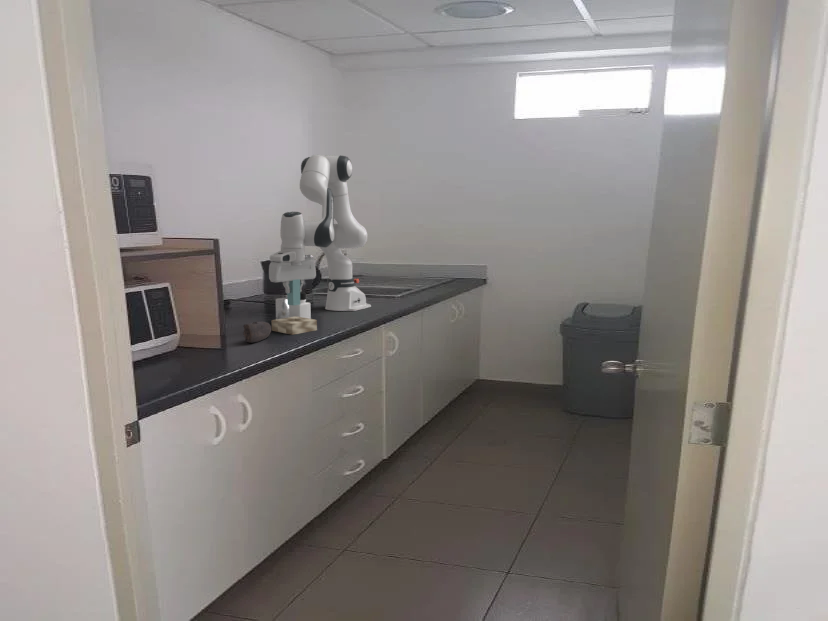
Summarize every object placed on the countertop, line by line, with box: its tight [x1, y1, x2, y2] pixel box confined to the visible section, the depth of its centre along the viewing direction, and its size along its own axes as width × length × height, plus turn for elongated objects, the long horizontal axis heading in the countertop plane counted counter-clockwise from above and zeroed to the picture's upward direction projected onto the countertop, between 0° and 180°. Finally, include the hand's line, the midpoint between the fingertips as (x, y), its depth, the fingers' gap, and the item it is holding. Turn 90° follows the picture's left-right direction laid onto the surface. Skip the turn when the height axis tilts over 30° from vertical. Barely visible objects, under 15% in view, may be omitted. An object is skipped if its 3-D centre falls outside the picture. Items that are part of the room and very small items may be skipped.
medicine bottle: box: [290, 290, 312, 319], centre depth 262 cm, size 7×7×12 cm
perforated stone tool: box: [242, 321, 272, 344], centre depth 221 cm, size 15×5×7 cm, turn 158°
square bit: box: [286, 279, 300, 305], centre depth 238 cm, size 3×3×10 cm
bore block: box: [271, 316, 318, 336], centre depth 240 cm, size 12×12×4 cm
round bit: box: [275, 297, 290, 320], centre depth 253 cm, size 5×5×10 cm
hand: (293, 292), depth 238 cm, fingers closed on square bit, 3 cm apart
